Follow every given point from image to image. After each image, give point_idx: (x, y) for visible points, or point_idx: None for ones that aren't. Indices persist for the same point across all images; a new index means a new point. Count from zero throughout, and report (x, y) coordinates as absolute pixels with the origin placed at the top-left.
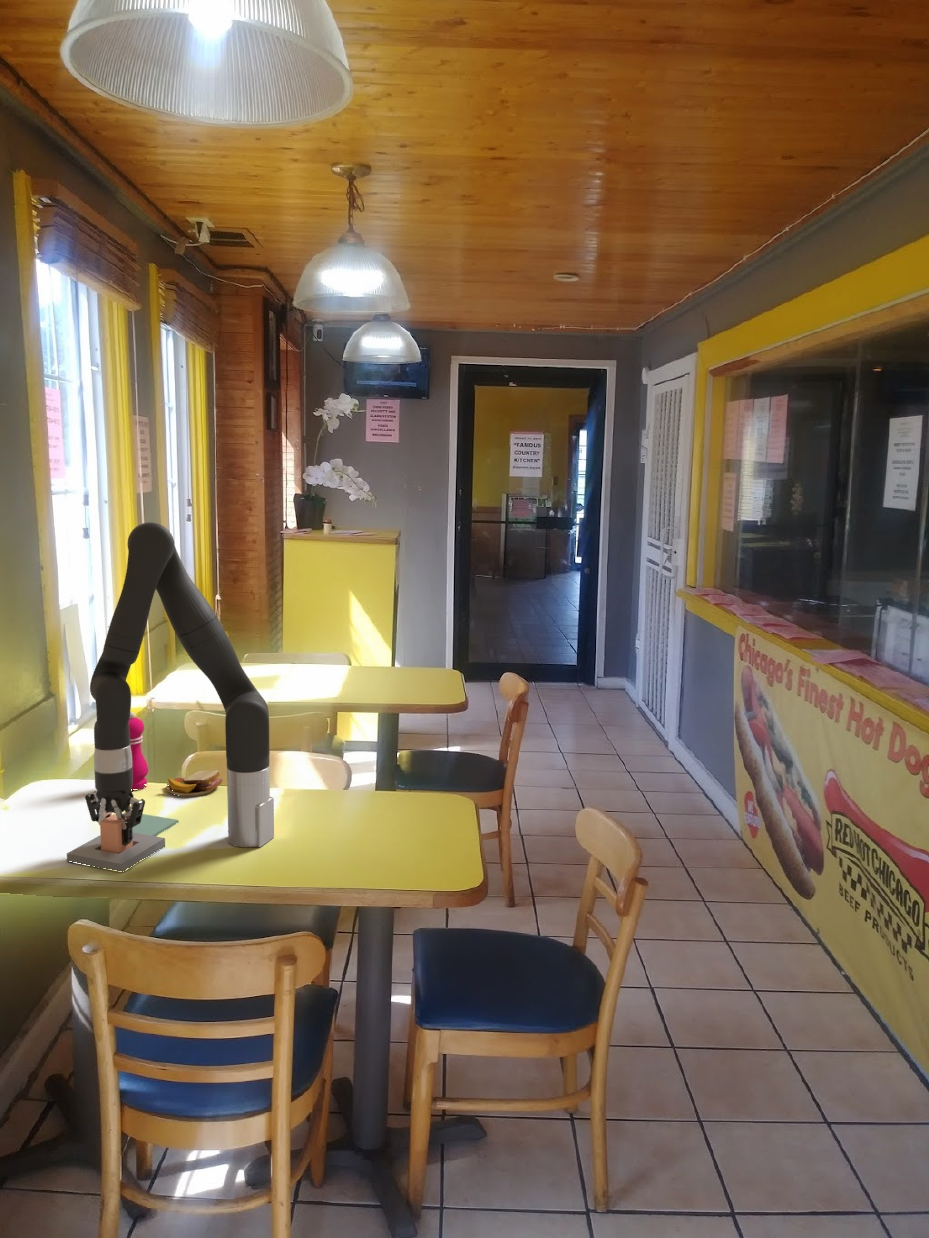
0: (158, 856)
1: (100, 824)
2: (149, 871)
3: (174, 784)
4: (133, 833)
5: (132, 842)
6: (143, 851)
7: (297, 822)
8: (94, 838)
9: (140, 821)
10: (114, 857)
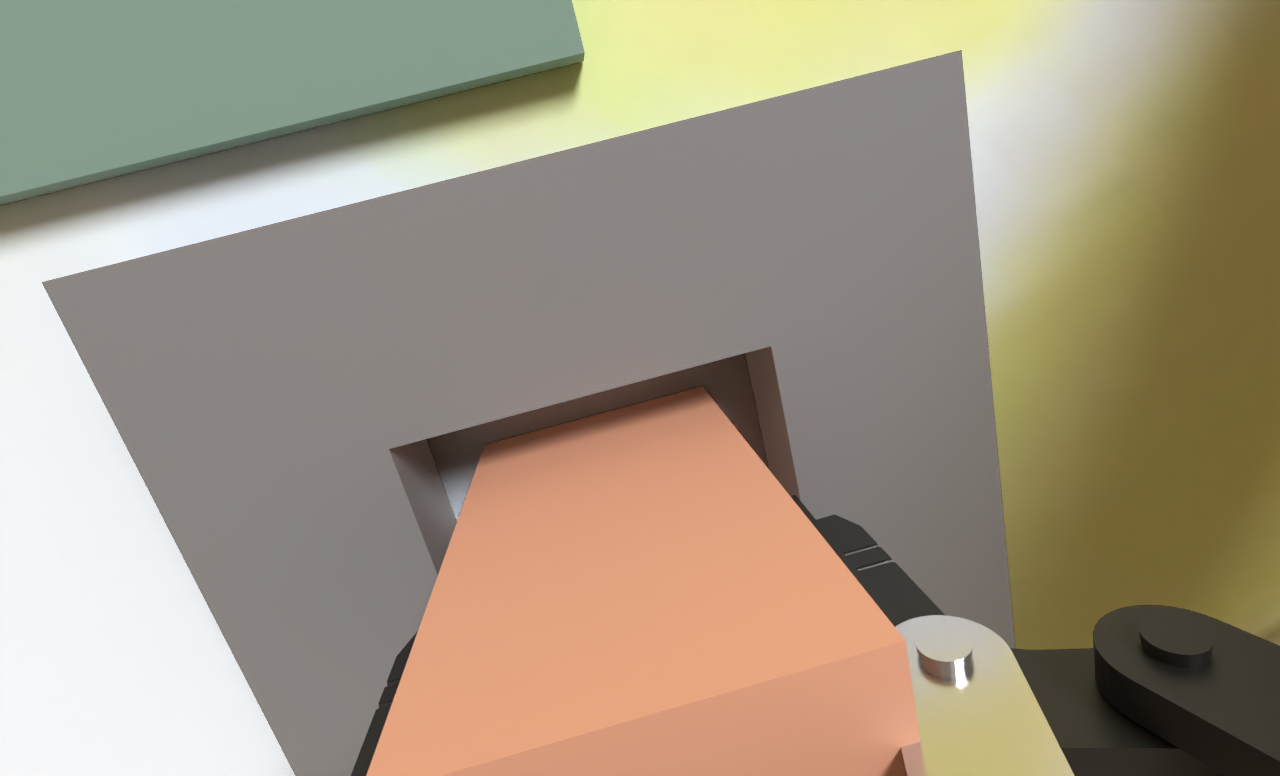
0: (1002, 300)
1: None
2: (1135, 544)
3: None
4: (464, 206)
5: (728, 421)
6: (997, 475)
7: None
8: (215, 610)
9: (1247, 641)
10: None
